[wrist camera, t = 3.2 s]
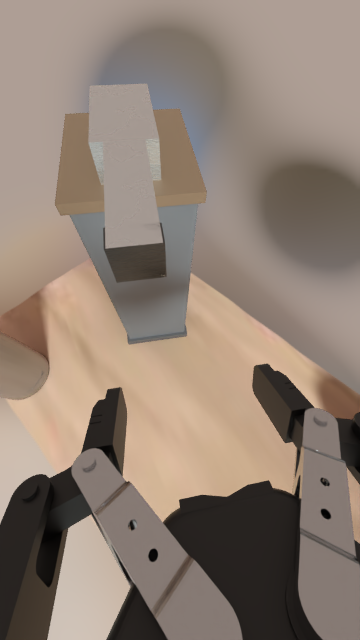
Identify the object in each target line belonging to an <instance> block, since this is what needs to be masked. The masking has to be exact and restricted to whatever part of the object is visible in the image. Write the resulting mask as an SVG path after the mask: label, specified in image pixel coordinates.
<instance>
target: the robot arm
mask: <svg viewBox="0 0 360 640" xmlns="http://www.w3.org/2000/svg"><path fill="white" fill-rule="evenodd" d="M48 373H49V365H48V362H47V360H46V358H45V357H44V356H43V355H42V354H40V353H38V352H36V351H35V350H33V349H31V348H29V347H28V346H26V345H24V344H22V343H21V342H19V341H17V340H15V339H13V338H12V337H10V336H8V335H6V334H5V333H3V332H1V331H0V398H6V399H12V400H20V399H25V398H27V397H30V396H31V395H33V394H35V393H36V392H37V391H38V390H39V389H40V388H41V387H42V386H43V385H44V383H45V381H46V379H47V377H48ZM252 386H253V391H254V394H255V396H256V398H257V399H258V401H259V402H260V404H261V406H262V407H263V409H264V410H265V412H266V414H267V415H268V417H269V418H270V420H271V422H272V423H273V425H274V426H275V428H276V430H277V431H278V433H279V434H280V436H281V438H282V439H283V441H284V442H285V443H289V442H293V443H294V444H295V446H296V447H297V449H296V457H295V469H294V480H293V488H292V494H290V493H288V492H286V491H283V490H280V489H275V488H272V486H271V484H270V481H264V482H259V483H255V484H250V485H247V486H245V487H243V488H242V489H240V490H238V491H237V492H235V493H233V494H231V495H230V496H227V497H221V496H209V495H199V496H194V497H190V498H185V499H180V500H179V502H180V508H179V509H177V510H175V511H174V512H173V513H171V514H170V515H169V516H168V517H167V518H166V519H165V520H164V522H162V521H161V520H160V519H159V517H158V516H157V515H156V514H155V512H154V511H153V510H152V509H151V507H150V506H149V505H148V503H147V502H146V501H145V500H144V498H143V497H142V496H141V495H140V493H139V492H138V491H137V489H136V488H135V487H134V486H133V485H132V483H130V482H129V481H128V482H126V481H125V480H124V478H123V477H122V476H123V463H124V450H125V437H126V425H127V408H126V404H125V400H124V395H123V391H122V388H121V387H119V388H113V389H108V390H107V394H106V398H105V399H104V400H99V401H98V402H97V403H96V405H95V406H94V407H93V410H92V414H91V418H90V422H89V425H88V429H87V433H86V437H85V441H84V445H83V449H82V452H81V454H80V455H79V456H78V457H77V458H76V460H75V461H74V463H73V465H72V466H71V467H70V468H68V469H67V470H65V471H63V472H61V473H59V474H57V475H55V476H53V477H51V478H48V477H47V476H46V475H43V474H39V475H35V476H32V477H30V478H28V479H27V480H25V481H24V482H23V483H22V484H21V485H20V486H19V487H18V488H17V489H16V490H15V492H14V493H13V495H12V497H11V500H10V502H9V505H8V507H7V509H6V512H5V514H4V516H3V519H2V521H1V524H0V640H47V637H48V632H49V626H50V621H51V616H52V611H53V606H54V600H55V595H56V589H57V585H58V580H59V574H60V569H61V564H62V558H63V553H64V548H65V542H66V537H67V532H68V528H69V527H70V526H72V525H74V524H75V523H77V522H79V521H80V520H82V519H84V518H86V517H87V516H89V515H91V516H92V517H93V519H94V521H95V523H96V525H97V526H98V528H99V530H100V532H101V534H102V535H103V537H104V539H105V541H106V543H107V544H108V546H109V548H110V550H111V552H112V554H113V555H114V557H115V559H116V561H117V563H118V565H119V567H120V569H121V571H122V572H123V574H124V576H125V578H126V580H127V581H128V583H129V585H130V587H131V588H130V590H129V592H128V595H127V597H126V599H125V601H124V603H123V605H122V607H121V609H120V612H119V614H118V616H117V618H116V620H115V622H114V625H113V627H112V629H111V631H110V633H109V635H108V637H107V639H106V640H360V544H359V543H358V542H357V541H355V540H354V534H353V525H352V515H351V506H350V497H349V487H348V478H347V469H346V467H347V468H348V469H349V471H350V472H351V473H352V475H353V476H354V477H355V479H356V480H357V481H358V483H359V484H360V412H359V413H357V414H355V416H354V419H353V420H350V419H340V418H334V417H333V416H332V415H331V414H330V413H328V412H327V411H325V410H322V409H318V408H314V407H313V405H312V404H311V403H310V402H309V401H308V400H307V399H306V398H305V397H304V395H303V394H302V393H301V392H300V391H299V390H298V389H297V388H296V386H295V385H294V384H293V383H292V382H291V381H290V380H289V379H288V377H287V376H286V375H284V374H282V373H281V372H279V371H274V370H273V369H272V368H271V367H270V365H269V364H262V365H256V366H254V373H253V384H252Z"/></svg>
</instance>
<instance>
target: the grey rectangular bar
mask: <svg viewBox="0 0 360 640" xmlns="http://www.w3.org/2000/svg"><path fill="white" fill-rule="evenodd" d="M89 101H90V102H89V138H88V143H89V146H90V150H91V153H92V156H93V160H94V163H95V166H96V170H97V173H98V177H99V180H100V183H101V185H102V184H104V208H105V228H103V248H104V251H105V254H106V256H107V259H108V262H109V264H110V267H111V269H112V272H113V274H114V277H115V279H116V282H117V283H119V282H128V281H136V280H145V279H154V278H162V277H167V273H166V251H165V239H164V234H163V228H162V223H160V221H159V215H158V210H157V204H156V198H155V192H154V186H153V181H154V180H161V164H160V144H159V135H158V131H157V126H156V122H155V117H154V113H153V109H152V104H151V100H150V95H149V90H148V86H147V84H127V85H98V86H90V99H89Z"/></svg>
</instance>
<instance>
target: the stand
mask: <svg viewBox="0 0 360 640" xmlns="http://www.w3.org/2000/svg"><path fill="white" fill-rule="evenodd" d="M153 113H154V117H155V122H156V126H157V131H158V135H159V144H160V164H161V180H154V181H153V186H154V192H155V198H156V204H157V210H158V215H159V221H160V223H162V228H163V234H164V239H165V251H166V273H167V277H162V278H154V279H145V280H136V281H128V282H119V283H117V282H116V279H115V277H114V274H113V272H112V269H111V267H110V264H109V262H108V259H107V256H106V254H105V251H104V248H103V228H105V208H104V184H102V185H101V183H100V180H99V177H98V173H97V170H96V166H95V163H94V160H93V156H92V153H91V150H90V146H89V143H88V138H89V113H76V114H65V122H64V130H63V139H62V147H61V157H60V165H59V173H58V182H57V191H56V199H55V206H56V207H57V209H58V211H59V213H60V215H70V217H71V219H72V221H73V223H74V225H75V227H76V229H77V231H78V233H79V235H80V237H81V240H82V242H83V244H84V246H85V248H86V250H87V252H88V254H89V256H90V258H91V260H92V262H93V264H94V266H95V268H96V270H97V272H98V274H99V276H100V278H101V280H102V282H103V284H104V287H105V289H106V291H107V293H108V295H109V297H110V299H111V301H112V303H113V305H114V307H115V309H116V311H117V313H118V315H119V317H120V319H121V321H122V323H123V325H124V327H125V329H126V332H127V336H128V343H129V344H135V343H142V342H149V341H156V340H163V339H170V338H177V337H184V336H187V331H186V326H185V319H186V310H187V301H188V291H189V282H190V273H191V262H192V254H193V245H194V235H195V226H196V216H197V208H198V204H199V203H205V201H206V193H207V191H206V188H205V185H204V182H203V179H202V176H201V173H200V170H199V167H198V164H197V161H196V157H195V154H194V151H193V148H192V145H191V142H190V139H189V136H188V133H187V130H186V127H185V124H184V121H183V118H182V115H181V112H180V109H161V110H153Z"/></svg>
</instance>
